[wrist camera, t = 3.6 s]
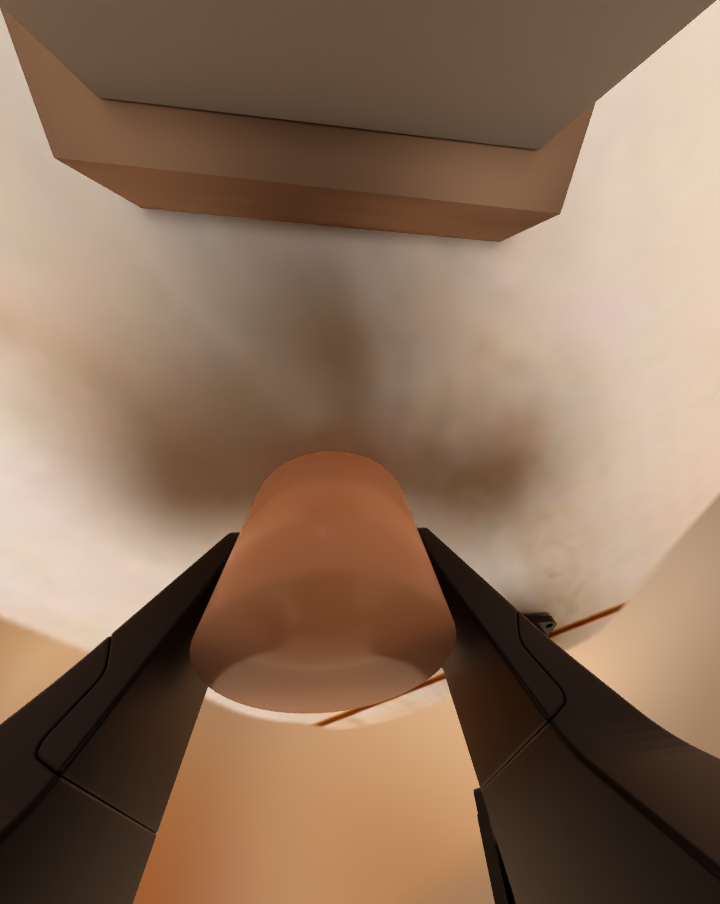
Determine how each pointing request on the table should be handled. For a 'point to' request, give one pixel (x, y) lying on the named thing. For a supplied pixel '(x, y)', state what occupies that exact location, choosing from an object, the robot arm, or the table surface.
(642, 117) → the table surface
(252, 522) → the cylinder
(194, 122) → the base slab
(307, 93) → the top slab
